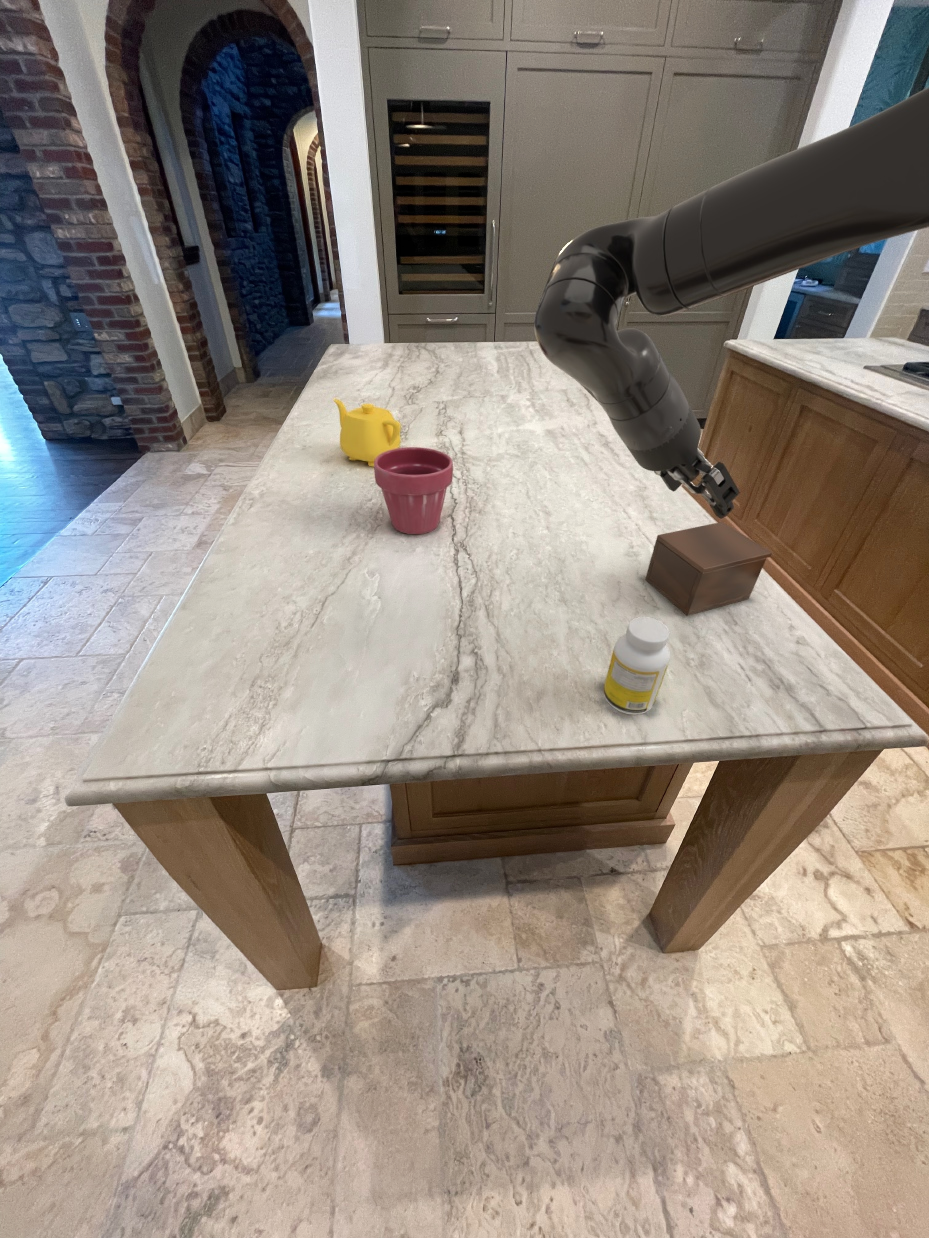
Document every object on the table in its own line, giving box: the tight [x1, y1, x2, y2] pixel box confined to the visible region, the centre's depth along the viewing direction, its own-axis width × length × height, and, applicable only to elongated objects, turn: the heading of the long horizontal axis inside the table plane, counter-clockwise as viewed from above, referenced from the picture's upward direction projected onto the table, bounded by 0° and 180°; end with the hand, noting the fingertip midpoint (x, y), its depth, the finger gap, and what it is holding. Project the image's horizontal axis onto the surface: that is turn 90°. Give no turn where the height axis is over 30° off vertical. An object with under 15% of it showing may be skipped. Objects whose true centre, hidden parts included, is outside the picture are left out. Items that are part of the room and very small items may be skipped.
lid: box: [656, 521, 773, 573], centre depth 84 cm, size 13×11×1 cm
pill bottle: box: [603, 616, 671, 715], centre depth 65 cm, size 6×6×12 cm
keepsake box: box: [644, 539, 767, 617], centre depth 86 cm, size 13×11×8 cm
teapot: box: [333, 398, 402, 467], centre depth 127 cm, size 13×20×12 cm
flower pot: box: [373, 446, 454, 535], centre depth 101 cm, size 14×14×13 cm
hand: (700, 498), depth 70 cm, fingers open, 8 cm apart
